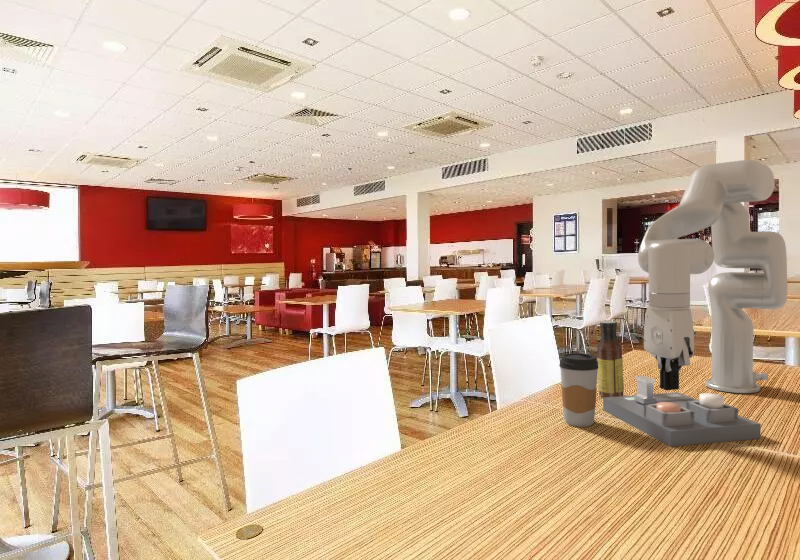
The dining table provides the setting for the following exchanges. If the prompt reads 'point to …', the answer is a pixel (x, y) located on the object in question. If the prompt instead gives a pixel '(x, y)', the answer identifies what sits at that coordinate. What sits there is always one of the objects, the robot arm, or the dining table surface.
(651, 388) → the slider knob
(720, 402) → the offwhite button
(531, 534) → the dining table surface
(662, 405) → the terracotta button
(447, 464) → the dining table surface
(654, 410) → the control panel
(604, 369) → the sauce bottle
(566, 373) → the coffee cup
